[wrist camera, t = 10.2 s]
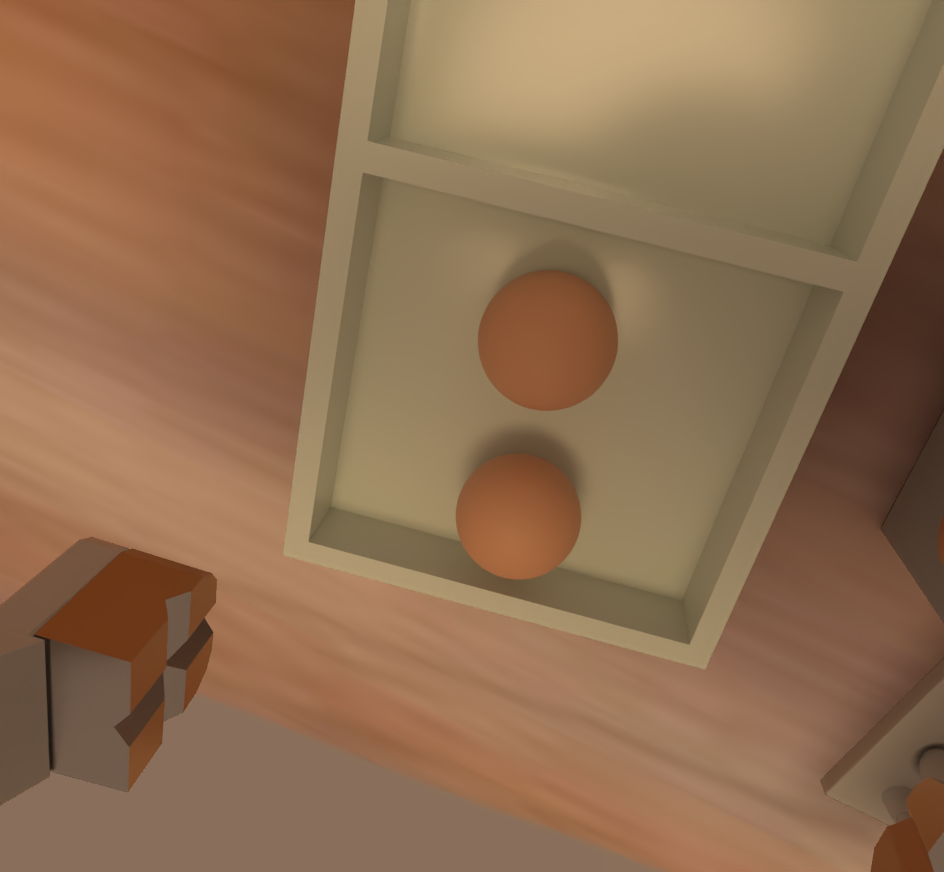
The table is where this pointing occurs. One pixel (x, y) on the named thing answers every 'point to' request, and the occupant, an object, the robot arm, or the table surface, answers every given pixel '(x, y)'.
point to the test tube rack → (894, 755)
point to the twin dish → (604, 281)
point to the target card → (922, 520)
